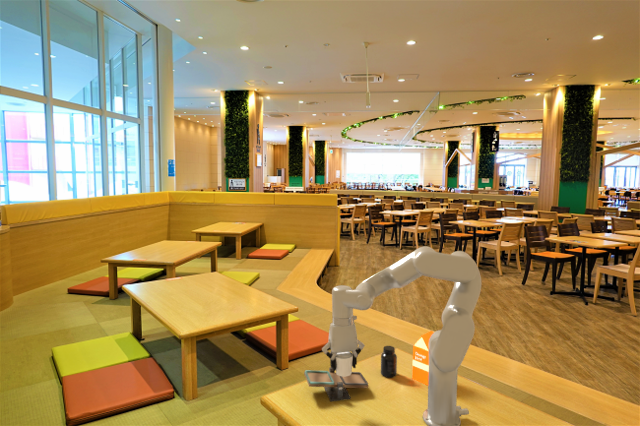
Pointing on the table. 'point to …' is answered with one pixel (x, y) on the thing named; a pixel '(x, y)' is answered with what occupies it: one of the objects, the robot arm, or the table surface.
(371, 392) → the table surface
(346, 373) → the cup of milk
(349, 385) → the balance beam board
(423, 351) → the orange juice
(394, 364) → the supplement bottle
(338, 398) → the pivot stand
